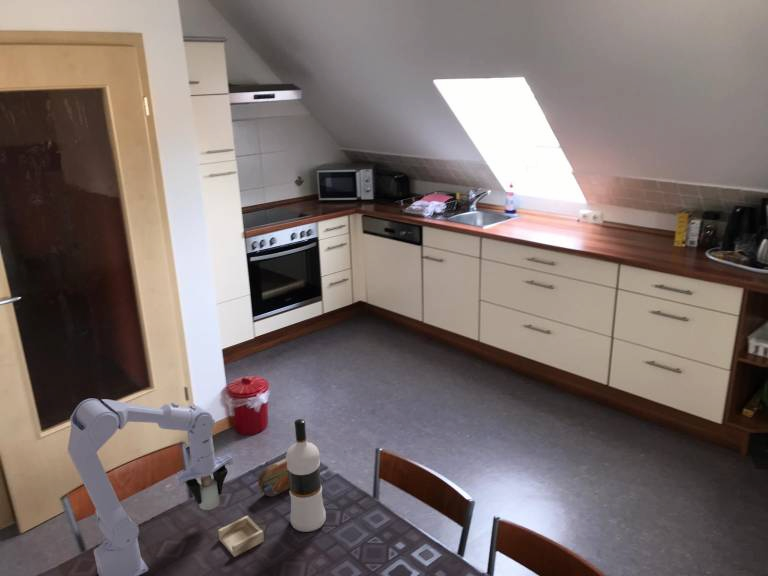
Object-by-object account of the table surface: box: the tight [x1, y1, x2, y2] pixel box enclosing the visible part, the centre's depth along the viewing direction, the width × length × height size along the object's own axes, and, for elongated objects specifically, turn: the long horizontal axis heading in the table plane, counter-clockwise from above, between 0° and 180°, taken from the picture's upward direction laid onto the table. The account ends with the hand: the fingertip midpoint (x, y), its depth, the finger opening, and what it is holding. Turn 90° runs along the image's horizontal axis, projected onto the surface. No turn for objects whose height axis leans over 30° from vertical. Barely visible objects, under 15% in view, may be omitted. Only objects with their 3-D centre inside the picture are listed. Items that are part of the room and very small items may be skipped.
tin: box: [257, 457, 290, 497], centre depth 175 cm, size 15×3×8 cm, turn 129°
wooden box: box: [217, 515, 265, 558], centre depth 156 cm, size 8×8×3 cm
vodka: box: [285, 418, 327, 533], centre depth 157 cm, size 9×9×30 cm
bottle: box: [198, 474, 220, 511], centre depth 160 cm, size 5×5×8 cm
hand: (208, 497), depth 161 cm, fingers closed on bottle, 5 cm apart
